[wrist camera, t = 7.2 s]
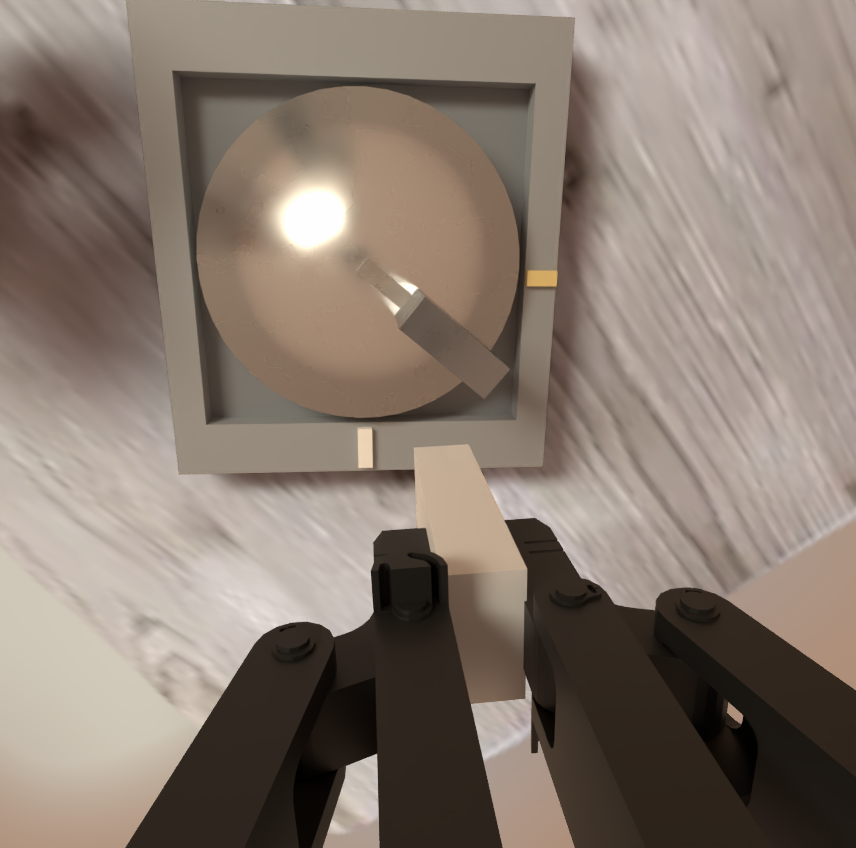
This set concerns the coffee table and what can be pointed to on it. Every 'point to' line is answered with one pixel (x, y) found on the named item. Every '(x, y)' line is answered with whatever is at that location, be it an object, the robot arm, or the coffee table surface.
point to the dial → (359, 253)
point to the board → (320, 69)
